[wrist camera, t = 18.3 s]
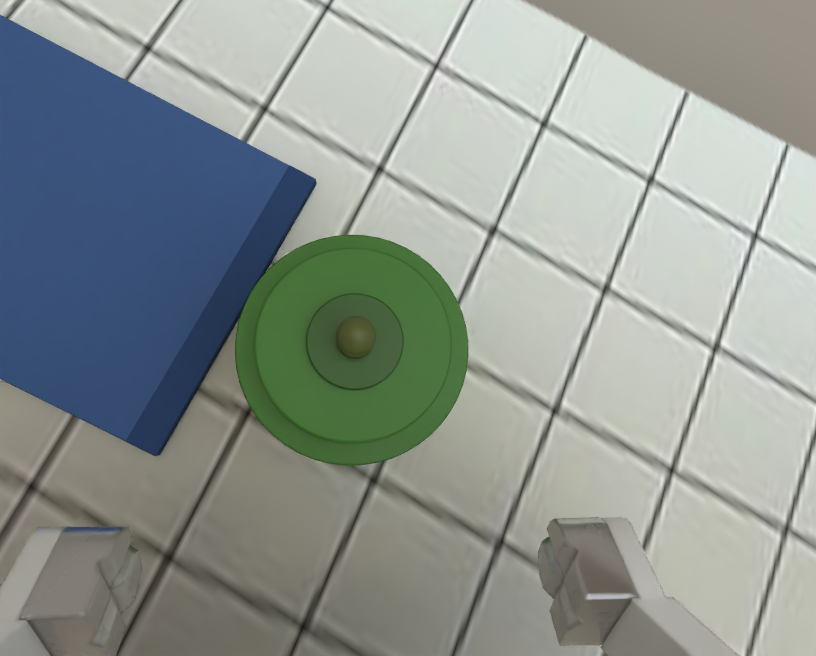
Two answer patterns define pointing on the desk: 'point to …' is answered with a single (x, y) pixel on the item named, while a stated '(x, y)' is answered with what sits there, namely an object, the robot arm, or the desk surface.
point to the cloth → (123, 239)
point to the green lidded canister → (351, 350)
